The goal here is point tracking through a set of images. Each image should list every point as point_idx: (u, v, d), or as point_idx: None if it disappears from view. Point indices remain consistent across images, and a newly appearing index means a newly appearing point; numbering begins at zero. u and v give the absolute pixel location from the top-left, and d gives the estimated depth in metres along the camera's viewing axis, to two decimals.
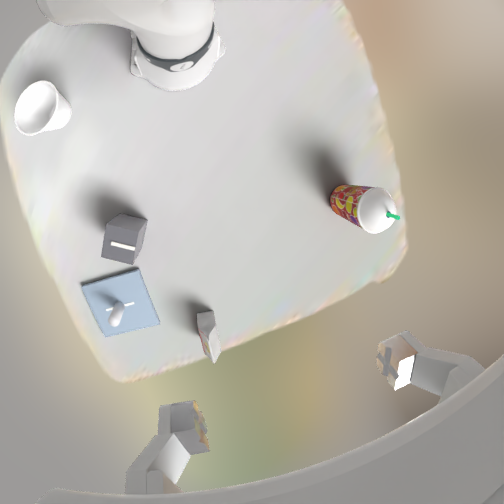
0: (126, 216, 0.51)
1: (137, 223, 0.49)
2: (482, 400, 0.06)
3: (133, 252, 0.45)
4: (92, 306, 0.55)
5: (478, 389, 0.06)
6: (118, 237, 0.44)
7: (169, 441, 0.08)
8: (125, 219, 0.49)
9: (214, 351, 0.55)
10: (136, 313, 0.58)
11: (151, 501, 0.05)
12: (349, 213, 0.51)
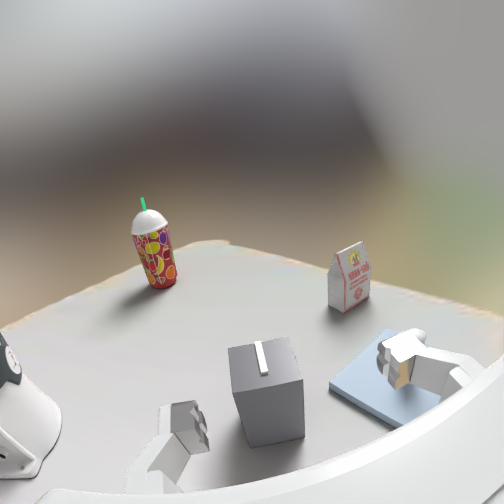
0: None
1: None
2: (482, 400, 0.06)
3: (265, 342, 0.27)
4: None
5: (478, 389, 0.06)
6: (249, 368, 0.24)
7: (169, 441, 0.08)
8: None
9: None
10: None
11: (151, 501, 0.05)
12: (159, 244, 0.58)
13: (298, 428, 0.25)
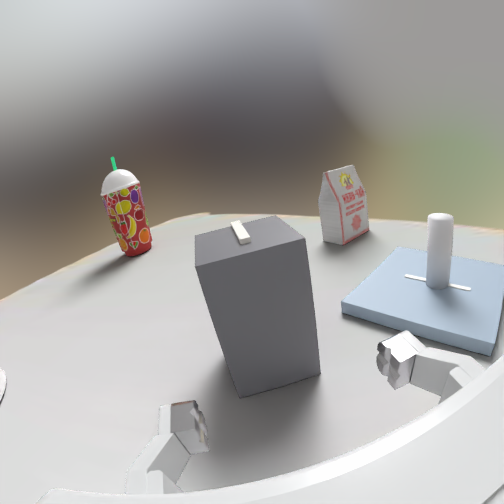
0: None
1: None
2: (482, 400, 0.06)
3: (246, 223, 0.20)
4: (496, 305, 0.17)
5: (478, 389, 0.06)
6: (223, 243, 0.17)
7: (169, 441, 0.08)
8: None
9: None
10: (418, 266, 0.26)
11: (151, 501, 0.05)
12: (131, 203, 0.50)
13: (309, 354, 0.18)
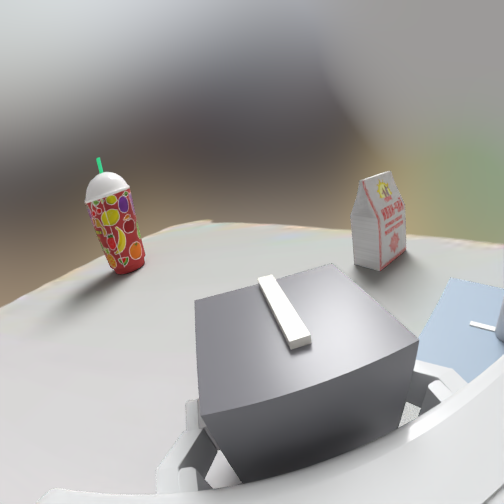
0: None
1: None
2: (482, 400, 0.06)
3: (284, 279, 0.11)
4: None
5: (478, 389, 0.06)
6: (252, 337, 0.08)
7: (199, 437, 0.08)
8: None
9: None
10: (481, 307, 0.18)
11: (151, 501, 0.05)
12: (119, 213, 0.42)
13: None
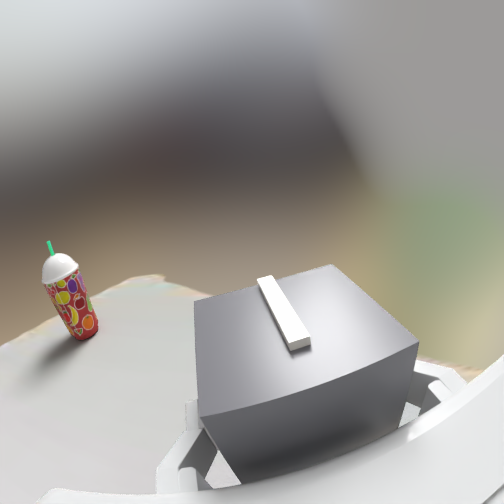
0: None
1: None
2: (482, 400, 0.06)
3: (283, 280, 0.11)
4: None
5: (478, 389, 0.06)
6: (251, 338, 0.08)
7: (199, 437, 0.08)
8: None
9: None
10: None
11: (151, 501, 0.05)
12: (69, 294, 0.44)
13: None
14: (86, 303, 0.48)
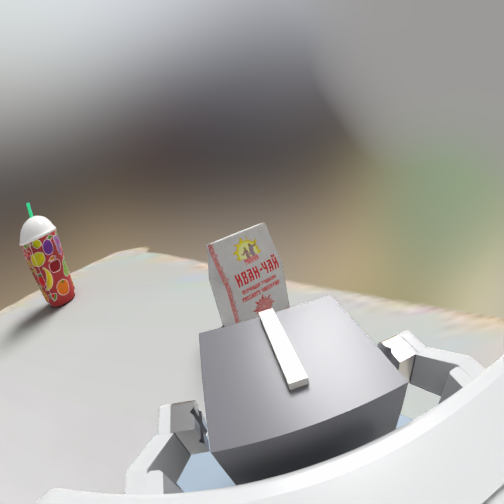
0: None
1: None
2: (482, 400, 0.06)
3: (284, 312, 0.12)
4: None
5: (478, 389, 0.06)
6: (254, 376, 0.09)
7: (169, 441, 0.08)
8: None
9: None
10: None
11: (151, 501, 0.05)
12: (44, 255, 0.41)
13: None
14: (62, 267, 0.44)
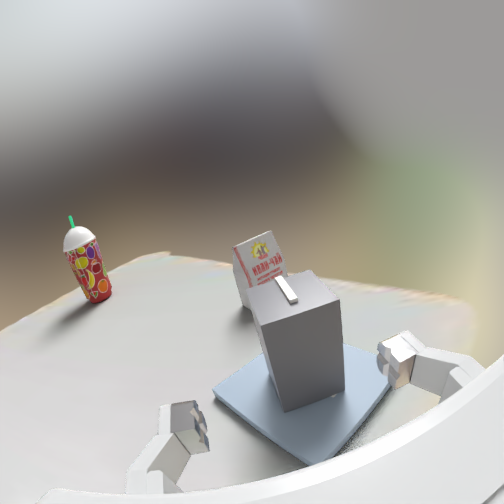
0: (276, 390, 0.23)
1: (261, 345, 0.25)
2: (482, 400, 0.06)
3: (287, 277, 0.24)
4: (351, 421, 0.20)
5: (478, 389, 0.06)
6: (275, 300, 0.21)
7: (169, 441, 0.08)
8: (270, 369, 0.23)
9: None
10: None
11: (151, 501, 0.05)
12: (87, 259, 0.54)
13: (337, 377, 0.22)
14: (102, 269, 0.57)
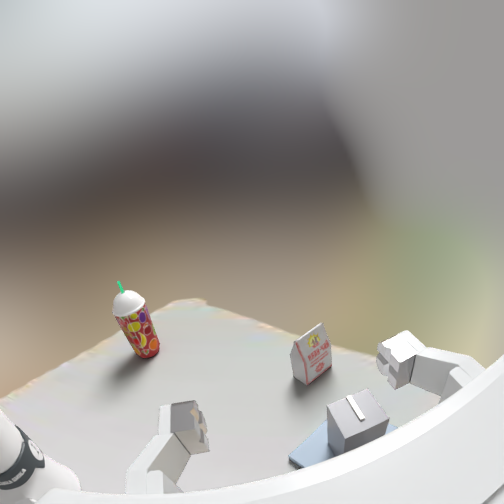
0: None
1: (330, 432, 0.32)
2: (482, 400, 0.06)
3: (353, 395, 0.31)
4: None
5: (478, 389, 0.06)
6: (350, 417, 0.28)
7: (169, 441, 0.08)
8: (337, 448, 0.30)
9: None
10: None
11: (151, 501, 0.05)
12: (140, 323, 0.60)
13: None
14: (152, 329, 0.64)
